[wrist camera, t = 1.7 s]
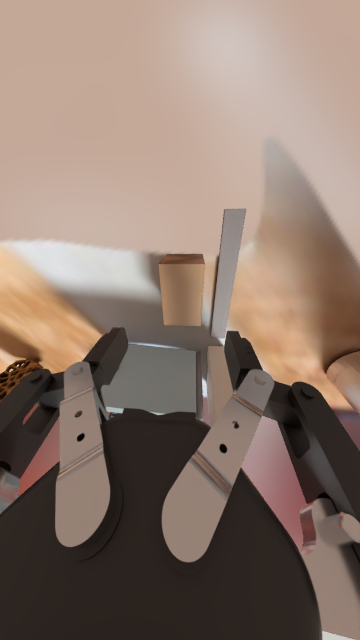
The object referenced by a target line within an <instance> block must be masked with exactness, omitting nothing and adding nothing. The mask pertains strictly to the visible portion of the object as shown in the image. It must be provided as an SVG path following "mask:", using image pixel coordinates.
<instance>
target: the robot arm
mask: <svg viewBox="0 0 360 640" xmlns="http://www.w3.org/2000/svg"><path fill="white" fill-rule="evenodd" d="M127 350H128V340H127V336H126V332H125V329H124V328H118V327H114V328H112V330H111V331H110V332H109V334H105V335H104V336H102V337H101V338H100V339H99V341H98V342H97V343H96V344H95V346H94V347H93V348H92V349H91V351H90V352H89V353H88V355H87V356H86V357H85V358H84V360H83V361H82V362H77V363H75V364H73V365H71V366H70V367H68V368H67V369H66V371H64V372H60V373H55V374H52V373H51V372H50V371H49V370H48V369H40V370H37V371H34V372H32V373H30V374H29V375H27V376H26V377H25V378H24V379H23V380H22V381H21V382H20V383H19V384H18V385H17V386H16V387H15V388H14V389H13V390H12V391H11V392H10V393H9V394H8V395H7V396H6V397H5V398H4V399H3V400H2V401H1V402H0V640H322V631H326V632H329V633H333V634H337V635H341V636H344V637H348V638H352V639H356V640H360V451H359V450H358V448H357V447H356V445H355V443H354V442H353V441H352V439H351V438H350V436H349V435H348V433H347V432H346V430H345V429H344V427H343V426H342V424H341V423H340V421H339V420H338V418H337V417H336V415H335V414H334V412H333V411H332V409H331V408H330V406H329V405H328V403H327V402H326V400H325V399H324V397H323V396H322V394H321V393H320V392H319V391H318V390H317V389H316V388H314V387H313V386H311V385H309V384H307V383H304V382H295V383H293V384H292V386H289V385H286V384H282V383H279V382H276V381H274V380H273V378H272V377H271V376H270V375H269V374H268V373H267V372H265V371H263V369H262V367H261V365H260V363H259V360H258V358H257V356H256V354H255V352H254V350H253V348H252V345H251V343H250V342H249V341H248V340H247V339H246V338H241V337H240V334H239V332H238V331H227V334H226V340H225V345H224V354H225V358H226V363H227V367H228V371H229V376H230V380H231V384H232V388H233V393H235V395H234V394H233V395H232V396H231V398H230V399H229V401H228V402H227V404H226V405H225V407H224V409H223V410H222V412H221V413H220V415H219V416H218V418H217V420H216V421H215V423H214V424H213V426H212V428H211V427H210V426H209V425H208V424H206V423H205V422H203V421H201V420H199V419H197V418H196V412H180V411H177V412H172V413H167V414H163V415H156V414H154V413H151V412H148V411H145V410H143V409H134V408H124V410H123V412H122V414H120V415H117V416H114V417H112V418H110V419H109V417H108V414H107V410H106V406H105V402H104V398H103V394H102V391H101V388H102V386H103V385H110V383H111V381H112V379H113V377H114V375H115V373H116V371H117V370H118V368H119V366H120V364H121V362H122V360H123V358H124V356H125V354H126V352H127ZM327 378H328V379H329V380H330V381H331V383H332V384H333V385H334V386H335V387H336V388H337V390H338V391H339V392H340V393H341V394H342V396H343V397H344V398H345V399H346V400H347V402H348V403H349V404H350V405H351V406H352V408H353V409H354V410H355V411H356V412H357V413H358V415H359V416H360V351H358V352H354V353H351V354H348V355H345V356H343V357H341V358H339V359H338V360H336V361H335V362H334V363H332V364H331V366H330V367H329V368H328V370H327ZM36 403H37V404H38V407H37V408H36V410H35V411H34V412H33V413H32V415H31V416H30V417H29V419H28V420H27V421H26V423H25V424H24V425H23V420H24V418H25V416H26V415H27V414H28V413H29V411H30V410H31V409H32V408H33V406H34V405H35V404H36ZM262 415H263V416H265V417H268V418H271V419H273V420H276V421H277V422H278V425H279V428H280V430H281V433H282V436H283V439H284V442H285V445H286V447H287V450H288V453H289V456H290V459H291V461H292V464H293V467H294V470H295V472H296V475H297V478H298V481H299V484H300V486H301V489H302V492H303V495H304V497H305V500H306V503H307V505H305V506H303V508H302V509H301V512H300V523H301V528H302V533H303V545H302V548H301V551H300V552H299V550H298V548H297V546H296V544H295V543H294V541H293V539H292V538H291V536H290V535H289V533H288V532H287V530H286V529H285V528H284V526H283V525H282V523H281V522H280V521H279V519H278V518H277V517H276V515H275V514H274V512H273V511H272V510H271V508H270V507H269V505H268V504H267V503H266V502H265V500H264V498H263V497H262V496H261V494H260V493H259V491H258V490H257V489H256V487H255V486H254V485H253V483H252V482H251V481H250V479H249V478H248V476H247V475H246V473H245V472H244V471H243V469H242V468H241V465H242V463H243V461H244V458H245V456H246V453H247V451H248V449H249V446H250V444H251V441H252V439H253V437H254V434H255V432H256V429H257V427H258V425H259V422H260V420H261V417H262ZM59 416H60V461H59V462H58V463H57V464H56V465H55V466H53V467H52V468H51V469H50V470H49V471H48V472H47V473H45V474H44V475H43V476H42V477H41V478H40V479H39V480H37V481H36V482H35V483H34V484H33V485H32V486H31V487H29V488H28V489H27V490H26V491H25V492H24V493H23V494H22V495H20V496H19V497H18V493H17V492H18V489H19V486H20V478H21V477H22V475H23V473H24V472H25V470H26V468H27V467H28V465H29V464H30V462H31V460H32V459H33V457H34V456H35V454H36V453H37V451H38V449H39V448H40V446H41V445H42V443H43V441H44V440H45V438H46V437H47V435H48V433H49V432H50V430H51V429H52V427H53V425H54V424H55V422H56V421H57V419H58V417H59Z"/></svg>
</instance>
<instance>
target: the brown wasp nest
mask: <svg viewBox="0 0 360 640" xmlns="http://www.w3.org/2000/svg"><path fill="white" fill-rule="evenodd" d="M23 363H24V364H23ZM18 364H19V366H18V367H17V365H18ZM22 364H23V365H22ZM21 365H22V366H21ZM11 368H12V369H14V370H13V371H11V372H9V370H10V369H11ZM40 369H43V366H41V365H40V364H39V361H38V360H35V361H31V360H29V359H26V360H19V361H16V362H14V363H13V364H11V365H10V366H9V367H8V368H7V369H6V371H4V372H3V373H1V374H0V402H1V401H2V400H3V399H4V398H5V397H6V396H7V395H8V394H9V393H10V392H11V391H12V390H13V389H14V388H15V387H16V386H17V385H18V384H19V383H20V382H21V381H22V380H23V379H24V378H25V377H26V376H27V375H29V374H30V373H32V372H34V371H37V370H40Z"/></svg>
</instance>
